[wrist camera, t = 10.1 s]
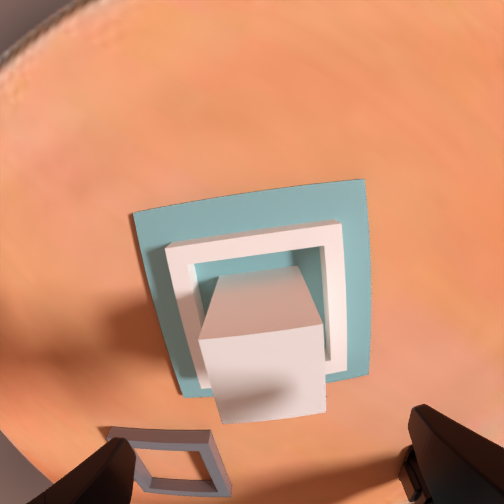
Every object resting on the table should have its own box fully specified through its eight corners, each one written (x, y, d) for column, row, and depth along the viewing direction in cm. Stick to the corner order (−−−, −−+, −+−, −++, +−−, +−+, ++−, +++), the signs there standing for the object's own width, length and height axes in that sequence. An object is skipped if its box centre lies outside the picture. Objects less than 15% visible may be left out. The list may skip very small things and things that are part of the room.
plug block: (297, 265, 17) (322, 324, 10) (305, 341, 18) (325, 421, 12) (219, 275, 17) (198, 339, 11) (234, 350, 19) (225, 432, 12)
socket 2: (362, 178, 16) (374, 179, 14) (366, 371, 19) (375, 387, 18) (135, 212, 17) (122, 217, 15) (184, 394, 20) (179, 411, 18)
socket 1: (210, 429, 21) (208, 443, 20) (232, 485, 23) (231, 496, 22) (111, 426, 21) (106, 437, 20) (147, 481, 24) (144, 491, 22)
